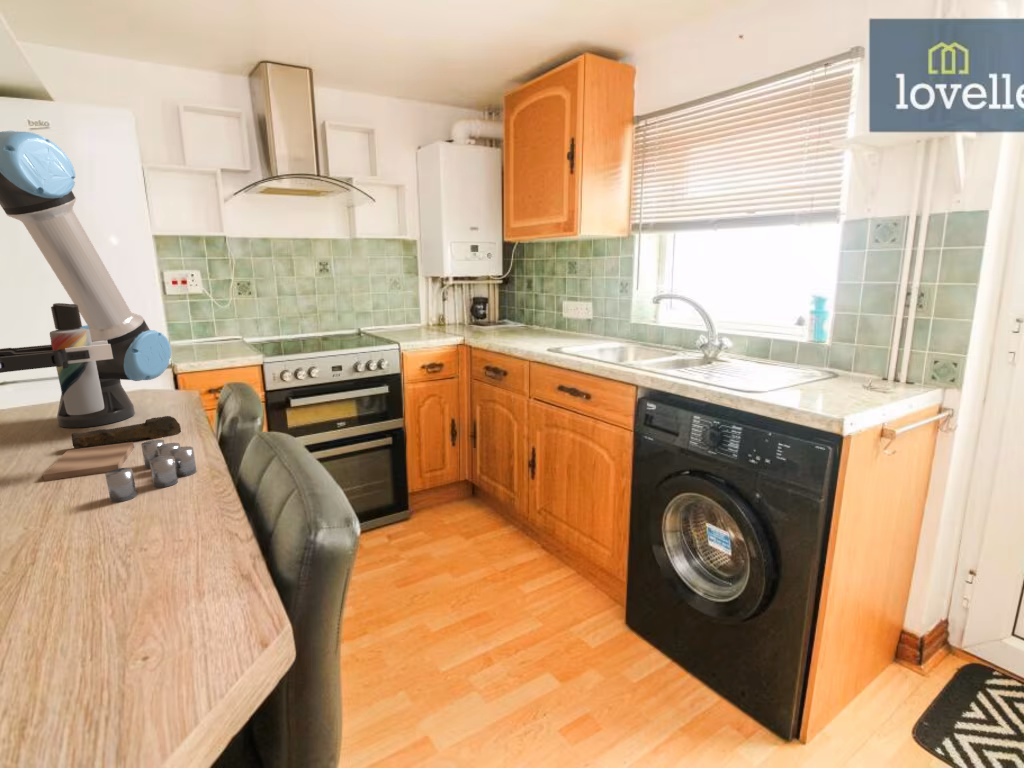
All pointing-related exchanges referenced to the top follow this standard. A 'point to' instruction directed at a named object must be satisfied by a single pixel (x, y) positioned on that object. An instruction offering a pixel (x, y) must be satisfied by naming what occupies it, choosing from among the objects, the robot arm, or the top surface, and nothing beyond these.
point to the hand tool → (128, 433)
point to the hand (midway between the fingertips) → (109, 349)
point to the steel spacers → (153, 469)
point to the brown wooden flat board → (89, 461)
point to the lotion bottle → (78, 377)
